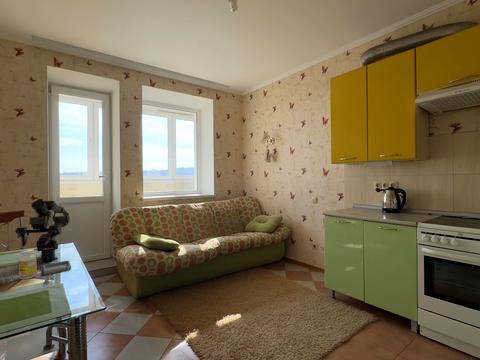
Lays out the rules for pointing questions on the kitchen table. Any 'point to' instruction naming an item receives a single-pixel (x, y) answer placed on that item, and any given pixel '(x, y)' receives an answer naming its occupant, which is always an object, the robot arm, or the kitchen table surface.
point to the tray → (56, 267)
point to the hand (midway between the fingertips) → (34, 245)
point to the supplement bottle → (27, 264)
